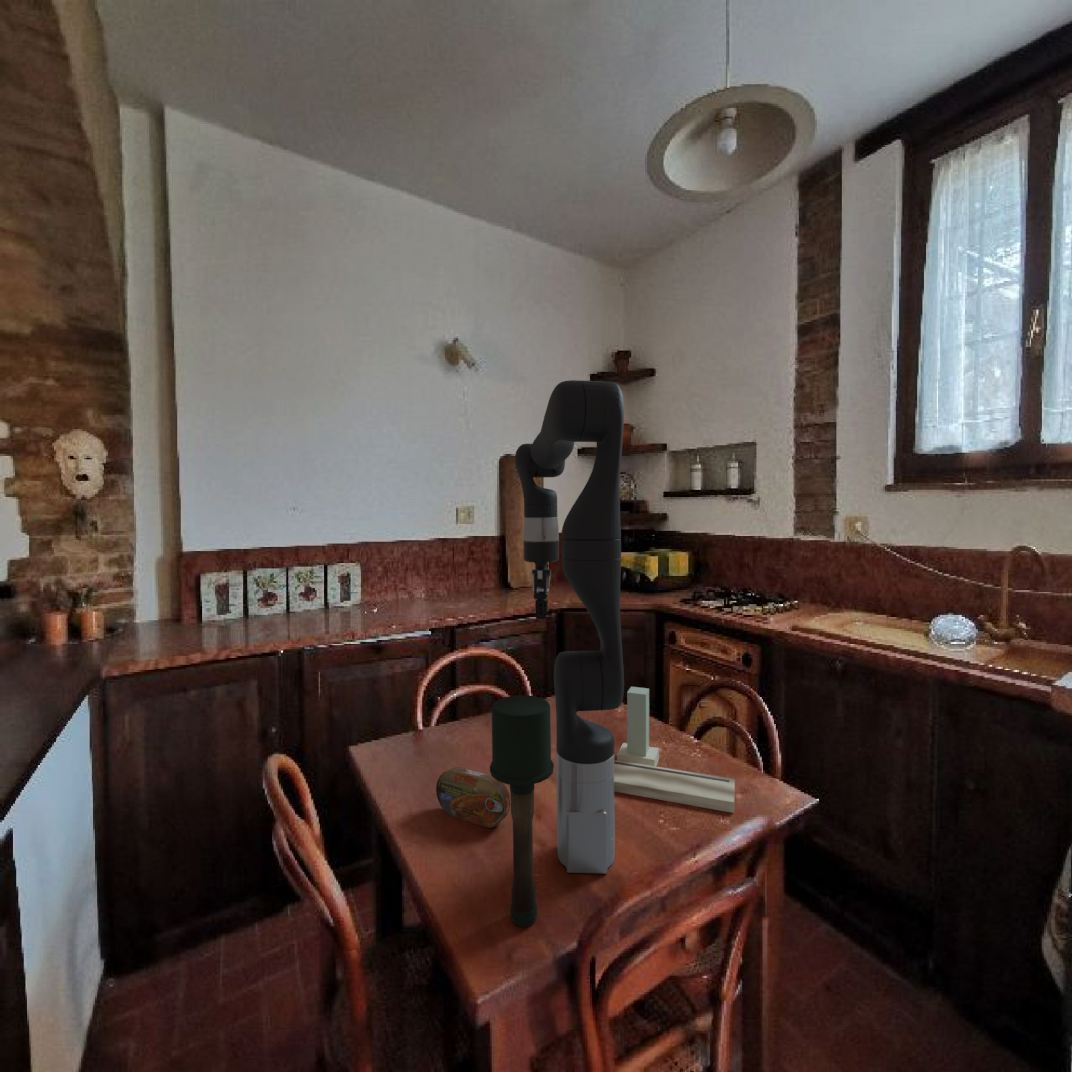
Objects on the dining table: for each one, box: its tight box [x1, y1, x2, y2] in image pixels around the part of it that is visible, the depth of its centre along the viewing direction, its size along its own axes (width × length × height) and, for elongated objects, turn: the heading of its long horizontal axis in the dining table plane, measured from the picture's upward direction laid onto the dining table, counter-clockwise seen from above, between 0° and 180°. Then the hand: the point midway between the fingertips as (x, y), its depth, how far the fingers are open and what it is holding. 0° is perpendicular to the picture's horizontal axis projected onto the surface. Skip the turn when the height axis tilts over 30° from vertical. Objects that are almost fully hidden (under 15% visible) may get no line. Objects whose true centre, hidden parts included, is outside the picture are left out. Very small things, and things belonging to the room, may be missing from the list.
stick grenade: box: [489, 694, 555, 928], centre depth 74 cm, size 8×9×30 cm
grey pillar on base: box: [616, 686, 660, 767], centre depth 119 cm, size 6×8×16 cm
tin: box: [435, 766, 511, 829], centre depth 99 cm, size 15×3×8 cm, turn 61°
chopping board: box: [614, 759, 736, 814], centre depth 108 cm, size 9×26×2 cm, turn 69°
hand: (541, 614), depth 117 cm, fingers open, 8 cm apart
